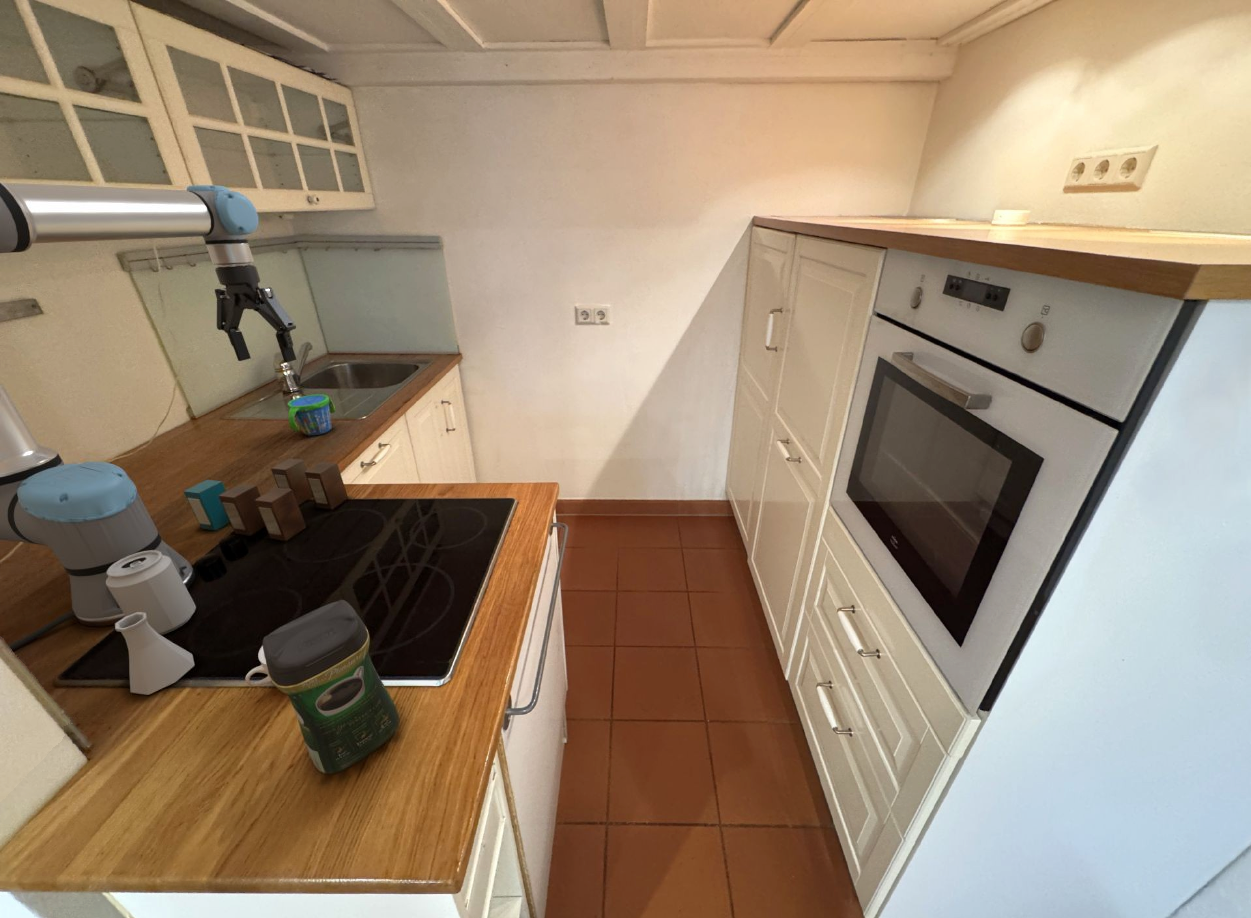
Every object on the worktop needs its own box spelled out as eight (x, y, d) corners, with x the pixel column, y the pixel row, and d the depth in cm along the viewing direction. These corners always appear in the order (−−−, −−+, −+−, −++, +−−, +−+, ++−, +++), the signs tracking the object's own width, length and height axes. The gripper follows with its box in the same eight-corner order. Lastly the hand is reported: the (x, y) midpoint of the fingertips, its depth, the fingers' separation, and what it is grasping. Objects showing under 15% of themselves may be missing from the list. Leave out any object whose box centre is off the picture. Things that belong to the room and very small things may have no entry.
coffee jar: (383, 693, 66) (345, 583, 58) (409, 731, 61) (370, 617, 53) (303, 743, 60) (247, 628, 52) (323, 790, 55) (265, 671, 47)
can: (189, 599, 84) (157, 541, 79) (205, 617, 80) (173, 556, 75) (131, 626, 79) (93, 566, 74) (146, 647, 75) (107, 584, 70)
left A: (249, 536, 101) (232, 498, 97) (234, 534, 102) (216, 496, 98) (271, 522, 106) (256, 485, 102) (256, 520, 106) (240, 483, 102)
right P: (331, 510, 109) (318, 473, 105) (316, 508, 110) (303, 472, 106) (348, 498, 114) (337, 463, 110) (333, 496, 115) (322, 461, 111)
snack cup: (309, 443, 143) (298, 410, 138) (282, 440, 146) (270, 407, 141) (352, 423, 156) (343, 392, 152) (325, 421, 159) (316, 390, 155)
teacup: (323, 640, 75) (312, 613, 73) (345, 666, 70) (334, 638, 68) (246, 684, 68) (231, 655, 66) (264, 716, 64) (249, 686, 61)
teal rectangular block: (215, 531, 103) (197, 493, 99) (200, 529, 104) (181, 491, 100) (238, 517, 108) (222, 481, 104) (223, 515, 109) (207, 479, 105)
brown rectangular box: (297, 505, 111) (284, 470, 107) (283, 504, 112) (269, 468, 108) (316, 494, 116) (303, 459, 112) (301, 492, 117) (289, 458, 113)
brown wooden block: (285, 541, 99) (269, 502, 95) (269, 539, 100) (253, 500, 96) (306, 527, 103) (292, 489, 99) (290, 525, 104) (276, 487, 100)
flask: (119, 683, 69) (82, 629, 65) (180, 647, 75) (150, 595, 70) (144, 704, 66) (107, 649, 62) (205, 664, 72) (176, 611, 67)
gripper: (294, 262, 111) (322, 357, 120) (207, 265, 116) (240, 355, 125) (265, 265, 104) (297, 365, 113) (174, 267, 110) (211, 362, 119)
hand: (267, 360), depth 119 cm, fingers open, 13 cm apart
